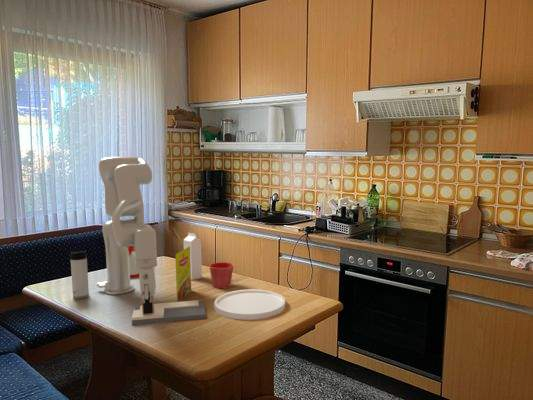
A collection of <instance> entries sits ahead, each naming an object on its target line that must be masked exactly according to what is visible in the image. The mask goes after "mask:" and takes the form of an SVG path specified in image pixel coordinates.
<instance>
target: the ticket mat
mask: <svg viewBox="0 0 533 400" xmlns="http://www.w3.org/2000/svg"><path fill="white" fill-rule="evenodd" d="M134 306H135V305H134ZM154 308H164V318H153V319H142V320H132V319H131V325H132V326H134V325H135V326H137V325H147V324H148V325H149V324H158V323H167V322H168V323H169V322H178V321H179V322H180V321H188V320H200V319H206V318H207V315H206V308H205V303H204V300H199V299H197V300H196V299H195V300H187V301H184V300H183V301H178V302H177V301H172V302H162V303H154ZM141 309H142V304H140V305H136V306H135V307H134V310H141Z"/></svg>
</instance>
